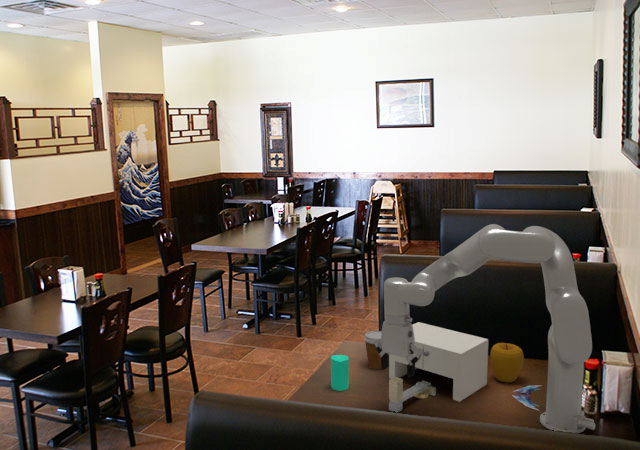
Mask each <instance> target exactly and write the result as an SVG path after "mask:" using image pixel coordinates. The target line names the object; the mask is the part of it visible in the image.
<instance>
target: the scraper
mask: <svg viewBox="0 0 640 450" xmlns="http://www.w3.org/2000/svg"><path fill="white" fill-rule="evenodd" d="M403 381H404V378H401V377H400V378H398V377H393V378H391V379H390V378H388V400H389V402H388V411H391V412H393V411H395V412H396V414H397V413H399V412H401V411H403V402H405V401H407V400H408V399H411V398H412V397H414V395H416V394H418V393H419V392H421V391H423V390H426V391H428V393H429V395H430V396H433V397H435V396H436V395H437V387H435V386H432V383H431V382H429V381H425V380H421V381H417V382H416V384H414V385H413V386H411V387H409V388H407V389H405V390H403V387H404V383H403ZM395 412H394V413H395Z"/></svg>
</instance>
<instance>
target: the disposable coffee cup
mask: <svg viewBox="0 0 640 450" xmlns="http://www.w3.org/2000/svg"><path fill="white" fill-rule="evenodd" d="M381 335H382V330H381V331H380V330H372V331H367V332H365V335H364V337H363V340H364V341H365V351H366V357H367V366H368V367H369V368H370V369H374V370H382V369H381V357H380V356H379V353H378V351H377V350H376V346H375V343H374V341H375V340H378V339H380V338H381ZM380 344H381V343H380Z"/></svg>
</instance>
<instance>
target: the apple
mask: <svg viewBox="0 0 640 450" xmlns="http://www.w3.org/2000/svg"><path fill="white" fill-rule="evenodd" d="M524 356H525V355H524V351H523V349H522V348H521V347H520V346H518V345H516V344H513V343H508V342H507V343H506V342H498V343H495V344H493V346H492V347H491V348H490V364H491V369H492V372H493V376H494V377H495V379H496V380H497V381H499V382H502V383H513V382H514V381H517V379H518V377H519V375H520V373H521V372H522V369H523V366H524V360H525V359H524V358H525V357H524Z"/></svg>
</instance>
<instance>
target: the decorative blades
mask: <svg viewBox="0 0 640 450" xmlns="http://www.w3.org/2000/svg"><path fill="white" fill-rule="evenodd" d="M539 387H542V385H540V384H539V385H537V384H535V385H534V384H533V385H526V386H525V387H520V388H519V389H516V390H513V391H512V393H517V394H511V396H512V397H513V398H515V400H517V401H518V402H520V404H521V403H522V404H523V405H524V406H525V407H528V408H530V409H533V410H536V411H539V409H538V408H536V407H539V405H538V404H536V403H534V402H532V401H531V400H532V398H531V397H530V394H531V393H532V392H534V391H538V390H540V388H539ZM531 395H532V394H531Z"/></svg>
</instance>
